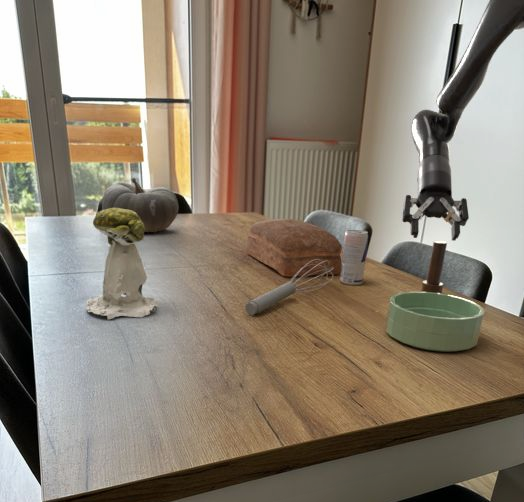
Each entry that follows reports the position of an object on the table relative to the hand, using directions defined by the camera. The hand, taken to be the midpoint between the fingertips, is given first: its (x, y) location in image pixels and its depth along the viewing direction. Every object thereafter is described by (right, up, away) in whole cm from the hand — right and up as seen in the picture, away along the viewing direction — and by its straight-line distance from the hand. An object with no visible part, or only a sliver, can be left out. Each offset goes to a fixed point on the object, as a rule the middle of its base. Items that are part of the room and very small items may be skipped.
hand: (435, 237), depth 115 cm
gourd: (-80, +16, +60) cm, 101 cm away
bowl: (-9, -23, -25) cm, 36 cm away
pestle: (-1, -13, -1) cm, 13 cm away
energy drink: (-18, -9, +7) cm, 21 cm away
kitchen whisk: (-33, -15, -7) cm, 36 cm away
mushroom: (-65, -18, -19) cm, 70 cm away
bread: (-31, -2, +23) cm, 39 cm away
